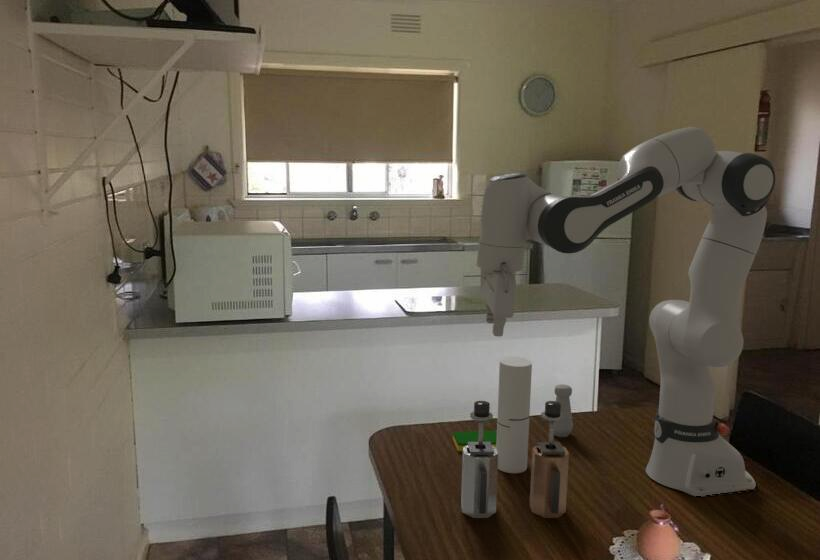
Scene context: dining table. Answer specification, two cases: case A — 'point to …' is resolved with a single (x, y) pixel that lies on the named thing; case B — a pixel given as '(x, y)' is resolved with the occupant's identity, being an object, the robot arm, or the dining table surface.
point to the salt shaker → (563, 411)
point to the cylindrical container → (513, 414)
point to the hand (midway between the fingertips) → (493, 328)
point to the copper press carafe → (549, 480)
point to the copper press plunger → (552, 418)
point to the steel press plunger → (481, 418)
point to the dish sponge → (473, 438)
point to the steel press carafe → (479, 480)
